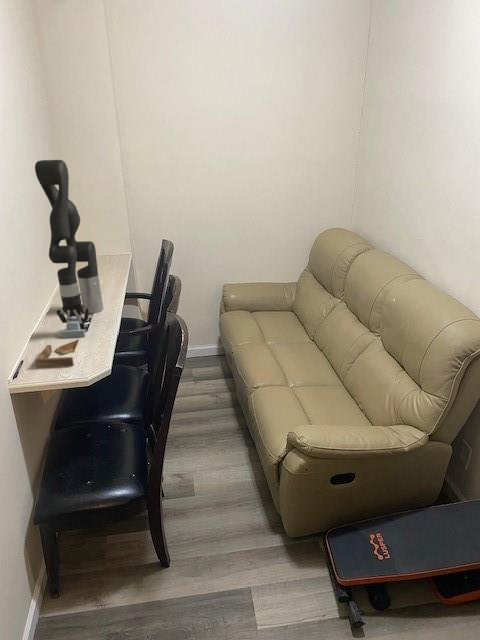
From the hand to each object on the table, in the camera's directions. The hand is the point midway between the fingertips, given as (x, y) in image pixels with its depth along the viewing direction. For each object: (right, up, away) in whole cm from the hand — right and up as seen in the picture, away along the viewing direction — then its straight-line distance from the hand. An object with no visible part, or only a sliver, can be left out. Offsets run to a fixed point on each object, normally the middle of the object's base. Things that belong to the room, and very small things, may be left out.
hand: (76, 330), depth 201 cm
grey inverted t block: (0, -1, 0) cm, 1 cm away
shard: (+1, -7, -14) cm, 16 cm away
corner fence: (+1, -11, -23) cm, 26 cm away
